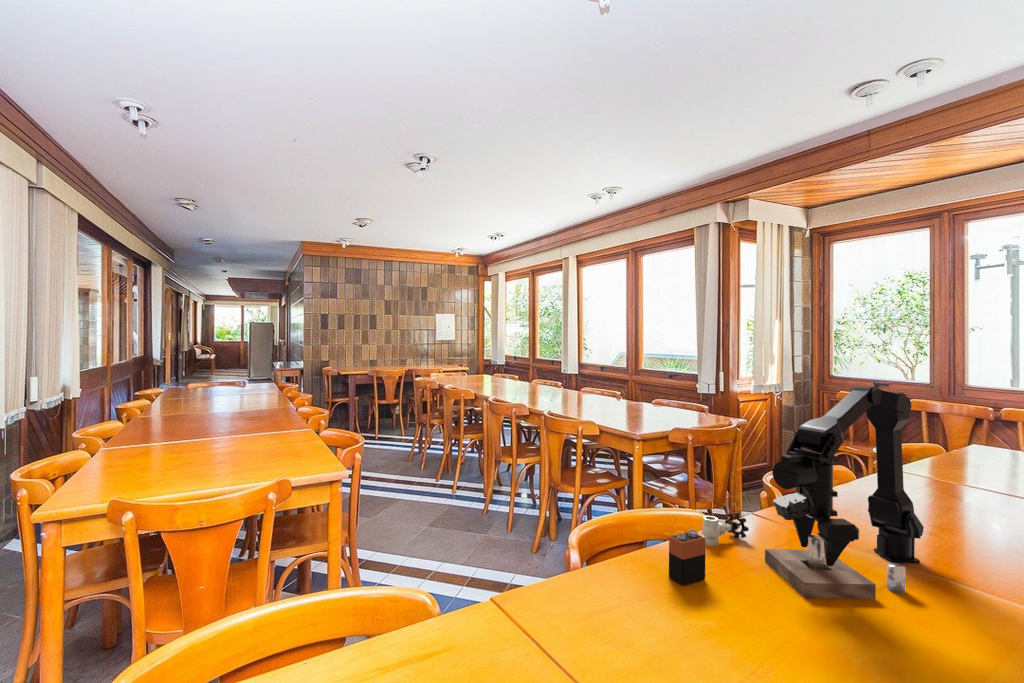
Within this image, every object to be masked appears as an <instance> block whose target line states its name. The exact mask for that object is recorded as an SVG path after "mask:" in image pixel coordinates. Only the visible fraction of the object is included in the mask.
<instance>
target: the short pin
mask: <svg viewBox="0 0 1024 683" xmlns="http://www.w3.org/2000/svg"><path fill="white" fill-rule="evenodd" d="M888 589H889V590H888ZM886 590H888V591H890V592H891V593H895V594H899V595H904V594H906V567H905V566H904V565H902V564H899V563H898V562H888V563H886Z"/></svg>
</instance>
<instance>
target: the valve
mask: <svg viewBox="0 0 1024 683" xmlns="http://www.w3.org/2000/svg"><path fill="white" fill-rule="evenodd" d="M727 517H728V519H725V520H724V523H725V524H723V523H722V522H720V520H719V518H718V517H716V516H712V515H704V516H703V517H702V526H701V533H702V534H701V535H702V537H704V538H705V539H706V546H707V545H709V546H708V547H711V546H715V547H718V546H719V543H720V542H719V541H720V540H719V536H724V535H725V534H726V532H728V533H729V534H730V533H731V534H733V538H734V537H735V539H739V538H741V539H744V538H746V537H747V534H746V533H745V532H749V527H748V526H747V525H745V523H746V522H747V519H746V518H744V517H741V516H740V513H739V512H737V511H736V512H734V513H732V512H729V513H728V514H727ZM740 517H741V518H740ZM734 520H737V521H734ZM740 527H741V529H740ZM738 529H740V531H737V530H738ZM717 545H718V546H717Z"/></svg>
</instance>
